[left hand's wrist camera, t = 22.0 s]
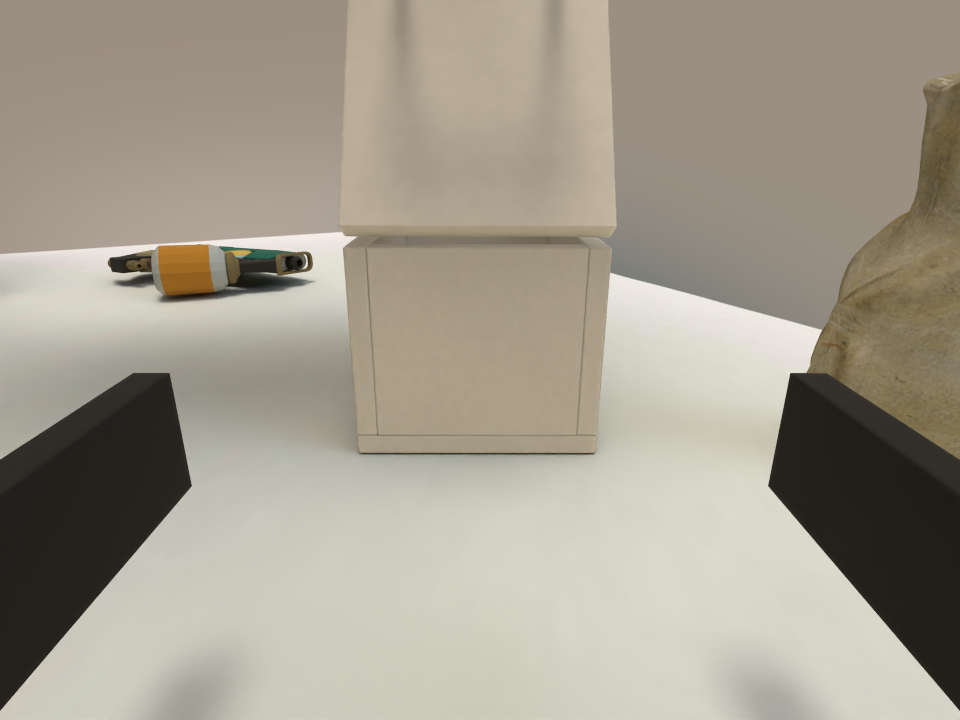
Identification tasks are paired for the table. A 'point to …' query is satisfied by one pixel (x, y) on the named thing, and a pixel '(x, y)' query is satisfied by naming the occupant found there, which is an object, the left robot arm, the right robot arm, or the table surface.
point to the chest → (477, 342)
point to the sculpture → (909, 294)
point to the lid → (477, 119)
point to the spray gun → (207, 266)
